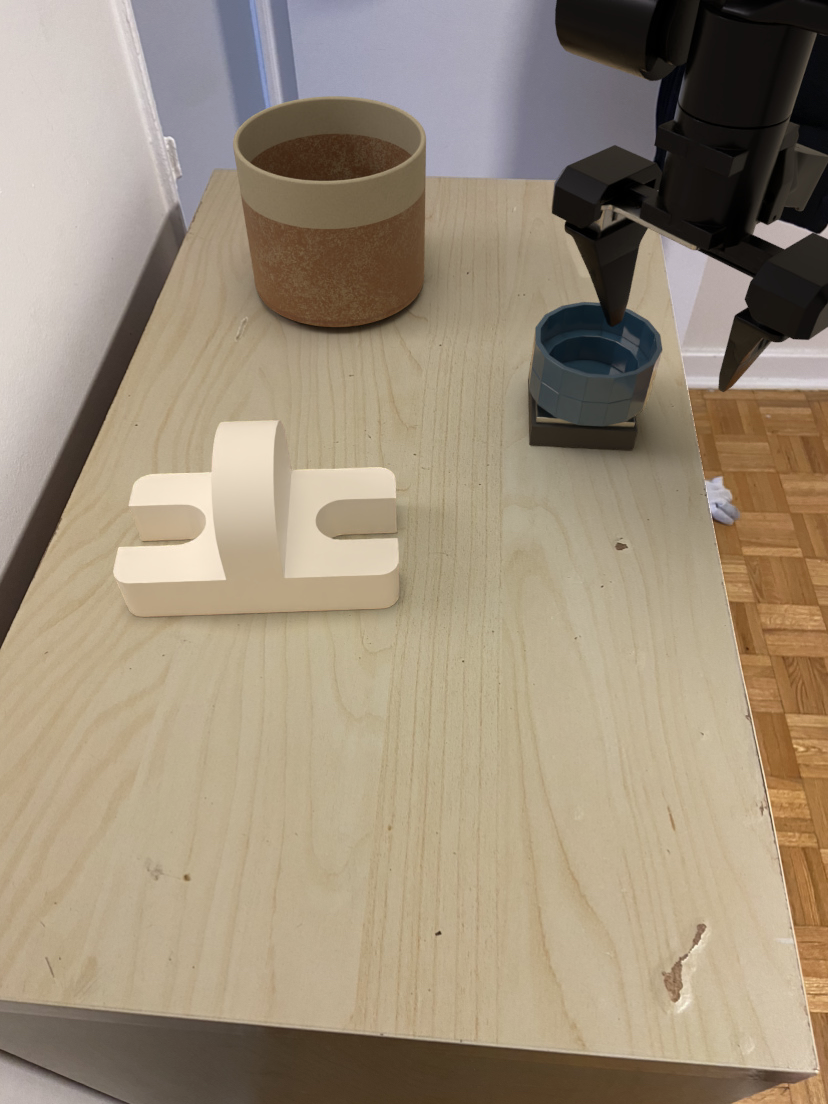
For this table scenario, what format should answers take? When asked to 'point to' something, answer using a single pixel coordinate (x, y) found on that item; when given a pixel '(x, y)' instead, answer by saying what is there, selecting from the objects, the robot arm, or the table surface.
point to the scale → (577, 431)
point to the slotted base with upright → (260, 534)
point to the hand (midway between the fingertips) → (667, 354)
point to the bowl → (593, 364)
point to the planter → (334, 208)
